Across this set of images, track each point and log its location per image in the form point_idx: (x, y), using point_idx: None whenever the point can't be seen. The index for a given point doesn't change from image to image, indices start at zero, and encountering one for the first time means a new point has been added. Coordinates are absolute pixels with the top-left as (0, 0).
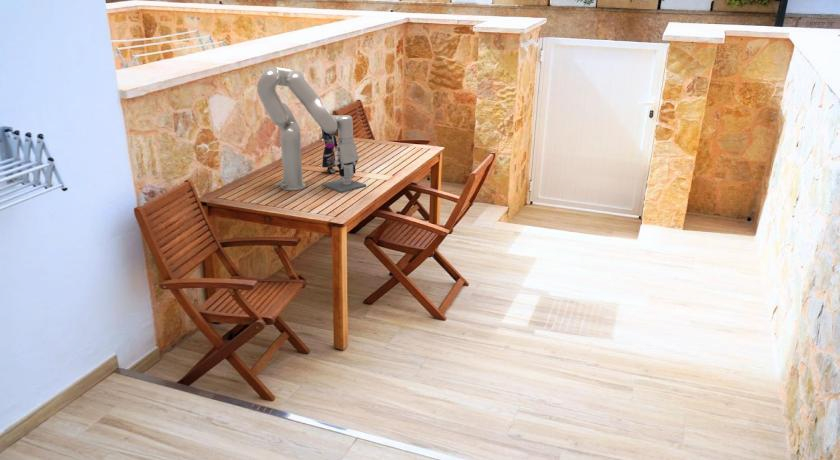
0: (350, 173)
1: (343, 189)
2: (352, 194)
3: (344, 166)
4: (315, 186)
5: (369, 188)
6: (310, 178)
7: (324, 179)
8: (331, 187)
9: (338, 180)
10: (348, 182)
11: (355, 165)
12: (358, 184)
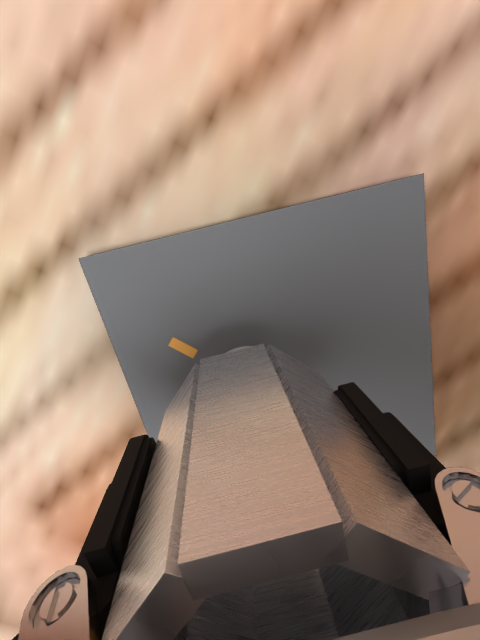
0: (249, 380)
1: (373, 218)
2: (337, 63)
3: (422, 522)
4: (470, 450)
5: (73, 174)
6: None
7: None
8: (429, 336)
9: None
10: None
11: (63, 573)
12: (155, 303)
